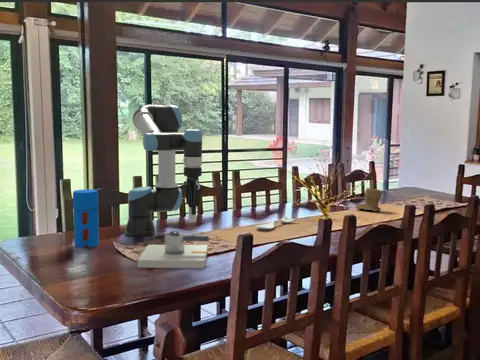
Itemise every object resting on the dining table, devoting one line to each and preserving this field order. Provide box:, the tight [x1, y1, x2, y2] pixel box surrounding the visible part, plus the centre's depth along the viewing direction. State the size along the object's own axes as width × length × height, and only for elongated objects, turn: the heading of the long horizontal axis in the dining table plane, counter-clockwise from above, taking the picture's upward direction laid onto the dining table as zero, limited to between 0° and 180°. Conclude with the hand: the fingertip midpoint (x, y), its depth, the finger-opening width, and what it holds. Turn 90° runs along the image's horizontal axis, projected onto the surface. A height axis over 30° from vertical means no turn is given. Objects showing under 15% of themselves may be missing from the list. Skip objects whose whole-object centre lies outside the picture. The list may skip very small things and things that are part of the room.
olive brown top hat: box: [354, 187, 383, 212], centre depth 320 cm, size 15×12×15 cm
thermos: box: [72, 189, 100, 249], centre depth 224 cm, size 11×11×25 cm
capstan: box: [164, 230, 209, 254], centre depth 203 cm, size 18×8×8 cm, turn 90°
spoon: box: [255, 215, 298, 231], centre depth 270 cm, size 9×32×4 cm, turn 143°
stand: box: [137, 244, 209, 269], centre depth 204 cm, size 26×24×3 cm
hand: (192, 221), depth 209 cm, fingers closed
